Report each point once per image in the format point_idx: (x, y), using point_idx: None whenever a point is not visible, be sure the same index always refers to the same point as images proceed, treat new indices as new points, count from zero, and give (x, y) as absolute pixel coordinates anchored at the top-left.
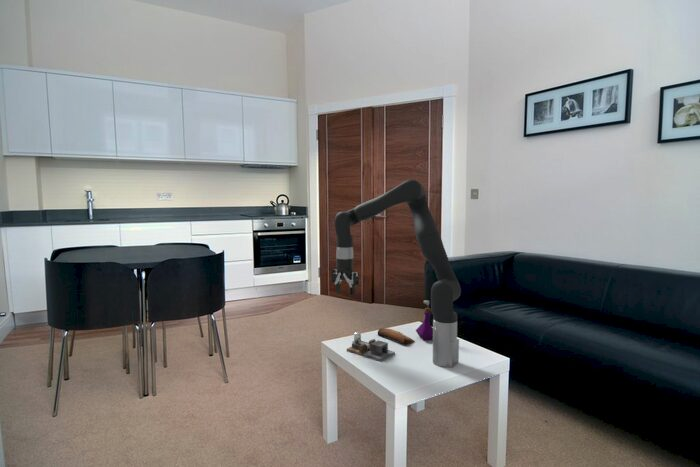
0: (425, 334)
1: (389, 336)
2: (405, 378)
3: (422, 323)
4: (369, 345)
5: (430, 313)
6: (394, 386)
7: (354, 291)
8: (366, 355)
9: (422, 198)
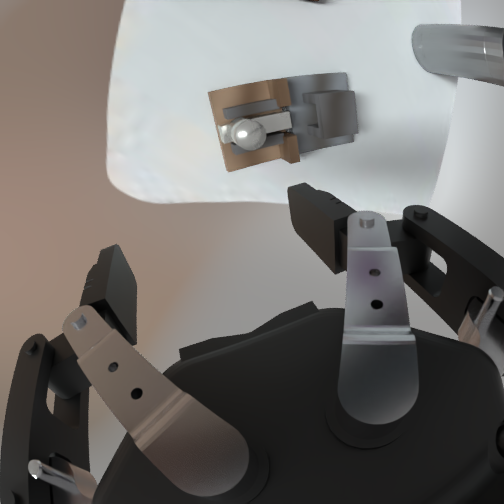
0: None
1: None
2: (418, 166)
3: None
4: (288, 114)
5: None
6: (416, 203)
7: (337, 203)
8: (307, 151)
9: None
